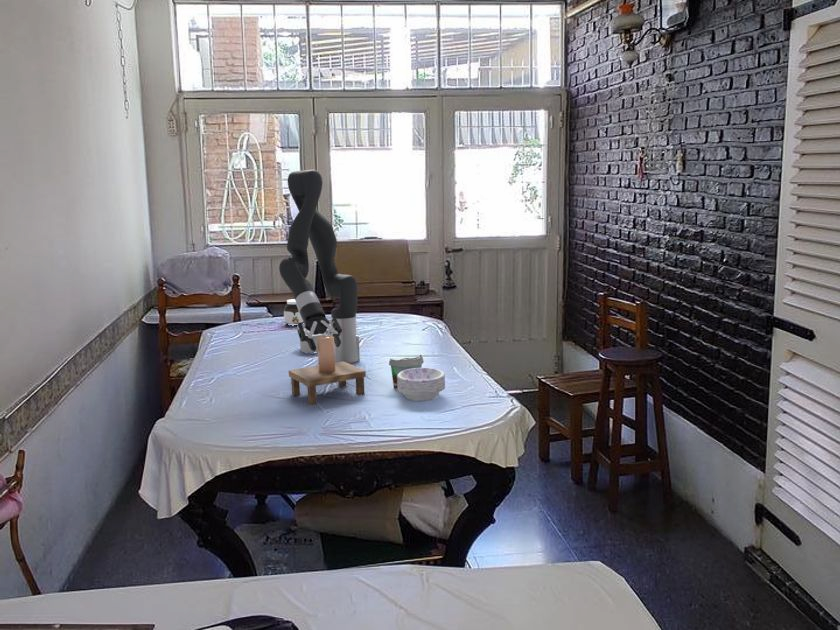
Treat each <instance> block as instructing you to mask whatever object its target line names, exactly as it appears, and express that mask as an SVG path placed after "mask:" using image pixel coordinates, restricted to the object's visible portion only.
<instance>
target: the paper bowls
mask: <svg viewBox="0 0 840 630" xmlns="http://www.w3.org/2000/svg"><path fill="white" fill-rule="evenodd" d="M445 375H446V374H445V372H444V371H443V370H441V369H437V368H433V367H421V368H412V369H407V370H403V371H401V372H399V373H398V375H397V383H398V389H397V391H398V392H399V393H402V394H404V397H405V398H406V399H408V400H409V401H414V402H427V401H432V400H434V399H437V397H438V396H439V394H440V393H441V392H442V391H443V390H445V388H446V376H445Z"/></svg>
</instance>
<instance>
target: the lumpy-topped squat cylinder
mask: <svg viewBox="0 0 840 630" xmlns="http://www.w3.org/2000/svg"><path fill="white" fill-rule="evenodd" d="M304 332H305V335H306V336H308V334H309V332H310V331H308V330H307V329H306V328H304ZM320 336H327V334H325V333H324V334H318V335H315V334H313V335H312V338H313V340H314V343H315V345H316V350H315V351H312V350H311V349H310V347H309V345H308V343H307V342H306V341H303V342H302V341H301V340H300V339H299V343H300V344H299V345H300V347H299V348H300V352H301V351H303V352H308V353H314V352H318V345H317V337H320ZM303 352H302V353H303ZM308 353H307V354H308ZM314 354H315V353H314Z"/></svg>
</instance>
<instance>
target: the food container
mask: <svg viewBox="0 0 840 630" xmlns="http://www.w3.org/2000/svg"><path fill="white" fill-rule="evenodd" d="M424 363H425V361H424V358H423V355H422V354H419V356H417V357H404V358H402V359H401V358H400V359H393V358H389V363H388V366H390V370H391V377H392V385H393V388H394V389H397V390H398V383H397V375H398V373H399V372H401V371H403V370H407V369H412V368H423V367H422V366H423V364H424Z"/></svg>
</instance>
